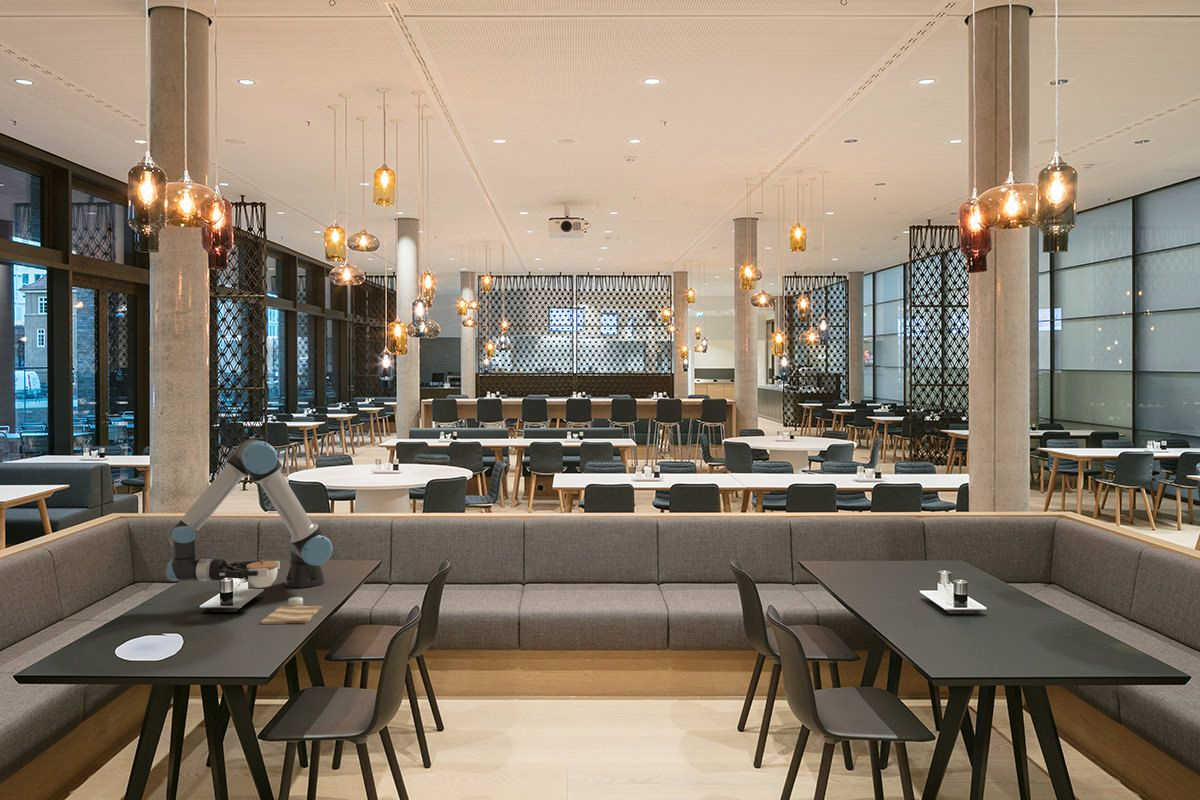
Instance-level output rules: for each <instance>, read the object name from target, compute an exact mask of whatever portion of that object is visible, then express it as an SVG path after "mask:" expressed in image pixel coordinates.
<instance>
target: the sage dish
mask: <svg viewBox="0 0 1200 800" xmlns="http://www.w3.org/2000/svg"><path fill="white" fill-rule="evenodd" d="M287 600H288V602H287V603H288V604H287V606H304V598H303V596H293V597H289V598H288V599H287Z"/></svg>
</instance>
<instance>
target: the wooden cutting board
mask: <svg viewBox="0 0 1200 800" xmlns="http://www.w3.org/2000/svg"><path fill="white" fill-rule="evenodd" d="M320 609H321V610H323V605H303V606H288V605H280V606H279V607H277V608H276V609H275V610H273V612H271V613H269V614H268V615H267V616H266V617H264V618H263V619H262V620H261V624H262V625H268V624H269V625H270V624H271V625H276V624H277V625H278V624H279V625H282V624H283V625H285V624H286V623H306V622H307V621H308V622H310V620H311V619H313V618H314V617H315V616H316V615H317V614H318V613H319V612H320V611H321V610H320ZM319 610H320V611H319ZM318 611H319V612H318ZM317 612H318V613H317ZM316 613H317V614H316ZM315 614H316V615H315ZM314 615H315V616H314ZM313 616H314V617H313ZM308 622H307V623H308ZM307 623H306V624H307Z"/></svg>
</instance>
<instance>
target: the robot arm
mask: <svg viewBox="0 0 1200 800" xmlns="http://www.w3.org/2000/svg"><path fill="white" fill-rule="evenodd" d="M282 468H283V465H282V463H281V462H280V460H279V458H278V454H277V451H276V449H275V448H274V447H273V446H272V445H271V444H270V443H268V442H267V441H264V440H259V439H252V438H251V439H246V440H245V441H243V442H241V443H240V444H239V445H238V446H237V447H236V449H234V451H233V452H232V453H231V455H230V456H229V457H228V459H227V460H226V461H225V467H223V468H222V470H221V471H220V472H219V474H218V475H217V476H216V477H215V478H214V479H213V481H212V482H211V483H210V484H209V485H208V487H207V488H206V489H205V490H204V491H203V492H202V494H200V496H199V497H198V498H197V500H195V502H194V503H193V505H192V506H191V507H190V508H189V509H188V510H187V512H186V513H184V515H183V516H182V517H181V518H180V520H179V521H178V522H177V523H176V524H175V525H173V526H172V527H170V528H169V529H168V530H167V534H166V538H167V542H168V544H169V545H170V546H171V547H172V553H173V556H172V557H173V559H171V560H169V562H167V565H166V569H165V574H166V578H167V579H168V580H169V581H172V582H193V581H197V582H198V581H199V582H200V581H202V582H203V583H206V582H207V581H223V580H224V579H226V578H227V579H240V580H248V576H249V577H268V569H249V571H248V570H247V569H246V566H247V565H248V564H251V563H254V562H260V560H263V559H262V558H260V559H257V560H246V561H233V562H230V563H229V564H227V561H226V560H225V559H224V558H223V559H222V558H219V559H218V558H216V559H212V558H207V559H205V558H203V559H197V533H198V532H199V531H200V529H201V528H202V527H203V525H204V524H205V523H206V522H207V521H208V520H209V519H210V517H212V515H213V514H214V513H215V511H216V510H218V508H219V507H220V505H221V504H222V503H223V501H225V500H226V498H227V497H228V496H229V494H231V492H232V491H233V490H234V489H235V487H236V486H237V485H238V484H239V483H240V482H241V480H242V479H245V478H247V477H248V476H250V479H251V480H252V482H253V483H258V484H259V485H260V486H261V487H262V490H263V491H264V492H265V494H266V496H267V498H268V499H269V501H270V503H271V504H272V505H273V507H274V509H275V510H276V512H277V514H278V515H279V517H280V519H282V520H281V521H282V522H283V523H284V525H285V526H286V528H287V530H288V531H289V533H288V541H289V543H288V544H289V546H288V547H289V567H288V569H287V573H286V577H285V579H284V581H285V586H286V587H288V588H289V587H290V588H297V587H300V588H311V587H310V586H312V587H316V585H317V586H320V585H323V584H324V583H326V575H325V573H324V570H323V567H322V565H323V564H325V563H326V562H327V561H329V559H330V558H331V557H332V554H333V543H332V542H331V540H330V539H329V538H328V537H326V535H325V534H324V532H323V531H322V529H321V527H320V526H319V524H317V523H313V522H312V520H311V519H310V517H309V516H308V514H307V512H306V511H305V509H304V507H303V506H302V504H301V501H299V499H298V497H297V496H296V494H295V493H294V491H293V489H292V487H291V486H290V485H289V483H288V481H287V479H286V478H285V476H284V475H283V473H282ZM274 561H275V562H277V563H278V570H279V569H281V566H280V565H281V563H280V560H274ZM322 583H323V584H322Z"/></svg>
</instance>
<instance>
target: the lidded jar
mask: <svg viewBox="0 0 1200 800" xmlns="http://www.w3.org/2000/svg"><path fill="white" fill-rule="evenodd" d="M259 560H260V559H259ZM275 561H276V560H264V559H262V560H260V562H254V563H251V564H248V565H247V566H246V569H247V570H248V571H249V569H268V577H249V576H248V579H247V580H248V582H249V583H250V584H251V585H252V586H253V588H258V589H260V588H261V589H262V588H268V587H271V586H272V585H273V583H275V581H276V579H277V576H278V573H279V571H278V570H279V569H278V563H277V562H275Z"/></svg>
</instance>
